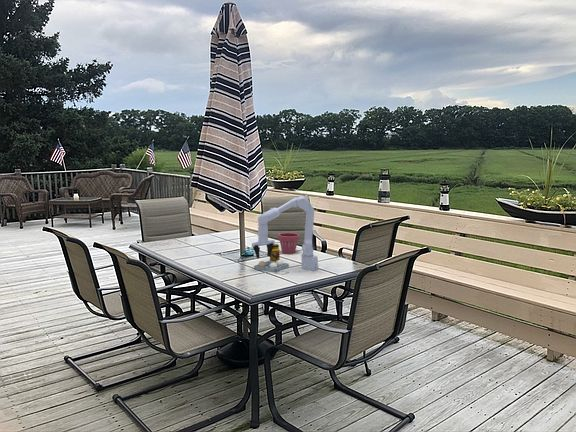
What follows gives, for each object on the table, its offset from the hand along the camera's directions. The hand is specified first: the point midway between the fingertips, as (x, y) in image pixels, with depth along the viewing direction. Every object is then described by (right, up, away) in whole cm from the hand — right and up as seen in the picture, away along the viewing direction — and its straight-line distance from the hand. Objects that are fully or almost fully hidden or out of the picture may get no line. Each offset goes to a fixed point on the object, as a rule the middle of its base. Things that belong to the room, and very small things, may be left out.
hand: (263, 257), depth 279 cm
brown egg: (0, -7, +1) cm, 7 cm away
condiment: (+6, -6, +18) cm, 20 cm away
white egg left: (+6, -7, -3) cm, 10 cm away
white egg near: (+10, -7, +3) cm, 12 cm away
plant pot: (+15, -1, +47) cm, 49 cm away
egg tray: (+5, -8, +2) cm, 9 cm away
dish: (+11, -9, -8) cm, 17 cm away
